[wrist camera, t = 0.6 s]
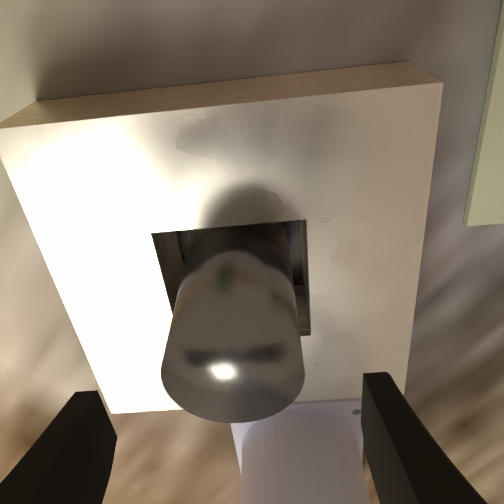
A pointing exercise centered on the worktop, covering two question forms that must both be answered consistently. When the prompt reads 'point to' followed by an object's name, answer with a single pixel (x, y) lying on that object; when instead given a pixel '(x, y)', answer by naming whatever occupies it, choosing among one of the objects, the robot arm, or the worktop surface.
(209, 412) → the grey cylinder
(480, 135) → the mat
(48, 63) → the worktop surface
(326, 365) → the housing
